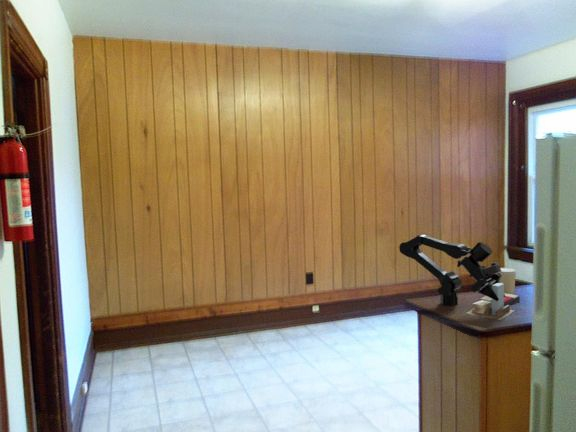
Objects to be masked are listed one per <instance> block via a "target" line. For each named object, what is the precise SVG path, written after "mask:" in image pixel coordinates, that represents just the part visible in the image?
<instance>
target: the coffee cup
mask: <svg viewBox="0 0 576 432" xmlns="http://www.w3.org/2000/svg"><path fill="white" fill-rule="evenodd" d="M500 269H501V271H500V272H498V273H500V274H501V275H502V277H501V278H500V279H501V280H500V283H503V284H504V293H507V294H512V295H515V289H516V288H515V287H516V273H517V271H516V269H515V268H511V267H510V268H509V267H500Z"/></svg>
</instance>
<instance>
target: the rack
mask: <svg viewBox="0 0 576 432" xmlns="http://www.w3.org/2000/svg"><path fill="white" fill-rule="evenodd" d="M510 306H511V305H506V306H505V307H503V308H501V309H499V310H498V311H496V315H493V314H492V306H491V307H489V308H488V309H486V310H485V314H481V313H476V312H472V309H471V310H469V311H467V312H466V315H473V316H478V317H482V318H487V319H493V320H497V321H501V320H502V319H504V318H506V317H507V316H509V315H511V314H512V313H513V312H515V311H516V310H514V309H511V307H510Z"/></svg>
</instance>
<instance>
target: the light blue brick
mask: <svg viewBox="0 0 576 432" xmlns="http://www.w3.org/2000/svg"><path fill="white" fill-rule="evenodd" d="M492 290H493V291H494V293H495V294H496V295H497V297H498V298H499V300H498V301H496V300H494V299H492V314H493V315H496V311H498V310H499V309H501V308H503V307H504V284H503V283H496V284H494V285H492Z"/></svg>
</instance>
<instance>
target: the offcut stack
mask: <svg viewBox="0 0 576 432" xmlns="http://www.w3.org/2000/svg"><path fill="white" fill-rule="evenodd" d="M491 306H492V302H489V301H484V300H481V301H479V300H478V301H476V302H473V303H472V307H473V308H472V309H471V310H472V312H476V313H481V314H485V310H486V309H488V308H489V307H491Z"/></svg>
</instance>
